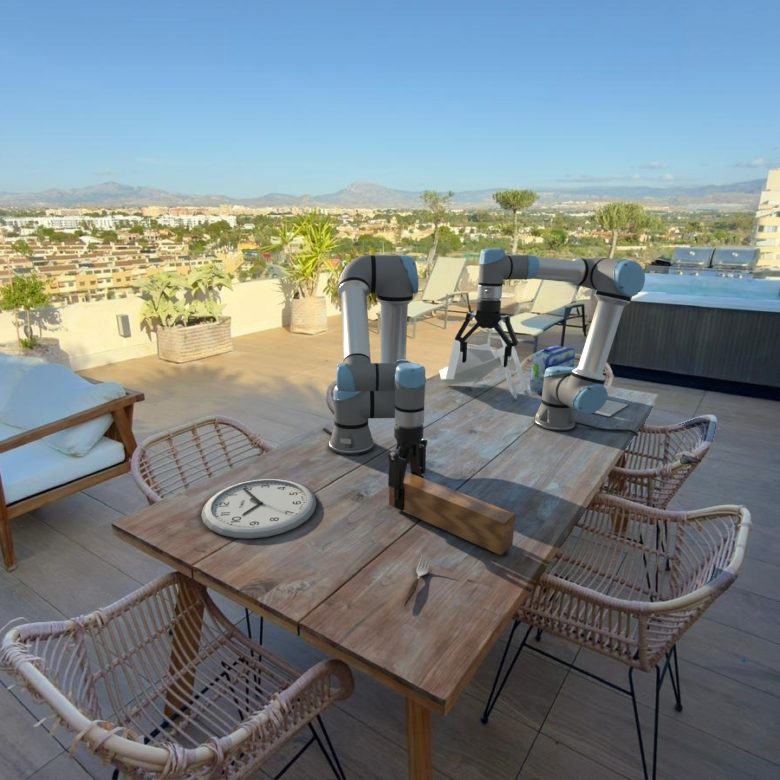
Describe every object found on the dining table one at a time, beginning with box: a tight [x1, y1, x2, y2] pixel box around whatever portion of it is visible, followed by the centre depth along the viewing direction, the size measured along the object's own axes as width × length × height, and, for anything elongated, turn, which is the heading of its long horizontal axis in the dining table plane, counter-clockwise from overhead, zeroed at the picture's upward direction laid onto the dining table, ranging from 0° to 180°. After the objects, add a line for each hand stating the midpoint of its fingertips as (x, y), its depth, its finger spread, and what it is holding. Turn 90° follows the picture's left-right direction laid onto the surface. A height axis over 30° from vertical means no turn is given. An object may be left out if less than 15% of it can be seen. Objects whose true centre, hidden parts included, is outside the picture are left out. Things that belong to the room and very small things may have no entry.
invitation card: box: [593, 399, 629, 418], centre depth 226 cm, size 21×1×15 cm
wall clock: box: [201, 478, 317, 539], centre depth 141 cm, size 30×2×30 cm
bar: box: [388, 471, 516, 556], centre depth 132 cm, size 34×6×8 cm, turn 49°
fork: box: [403, 554, 432, 607], centre depth 111 cm, size 3×16×2 cm, turn 160°
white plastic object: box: [438, 320, 531, 400], centre depth 245 cm, size 37×45×31 cm
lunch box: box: [529, 345, 576, 394], centre depth 244 cm, size 26×11×21 cm, turn 135°
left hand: (406, 503), depth 141 cm, fingers closed on bar, 5 cm apart
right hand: (484, 364), depth 172 cm, fingers open, 13 cm apart
